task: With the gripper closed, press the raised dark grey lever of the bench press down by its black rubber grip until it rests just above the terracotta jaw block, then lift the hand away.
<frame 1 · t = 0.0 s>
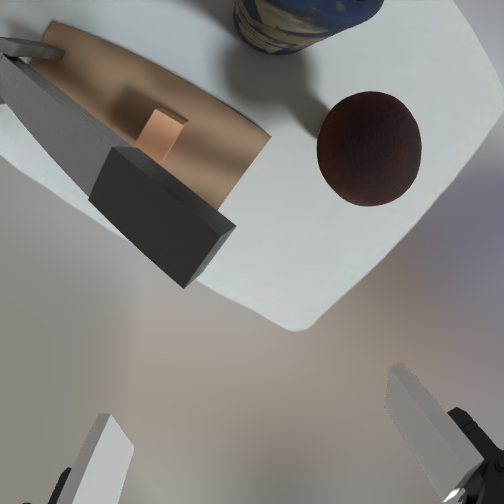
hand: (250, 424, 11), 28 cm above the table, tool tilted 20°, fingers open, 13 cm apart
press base: (126, 107, 27), on the table
canister: (274, 22, 24), on the table
lever: (52, 116, 13), point 16 cm above the table, hinge at 25.0°
decorative mushroom: (330, 132, 32), on the table
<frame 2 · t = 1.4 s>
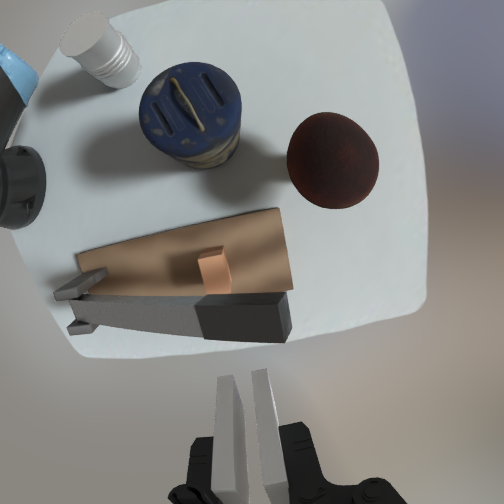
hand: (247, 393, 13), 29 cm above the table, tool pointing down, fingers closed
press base: (179, 268, 41), on the table
white ribbed cylinder: (124, 73, 34), on the table
canister: (206, 138, 38), on the table
lever: (144, 313, 26), point 16 cm above the table, hinge at 25.0°
decorative mushroom: (310, 166, 39), on the table
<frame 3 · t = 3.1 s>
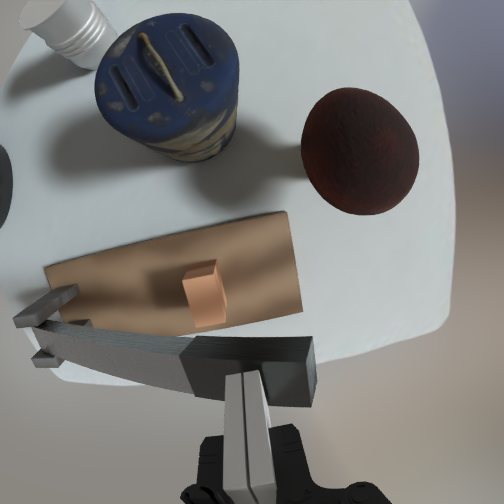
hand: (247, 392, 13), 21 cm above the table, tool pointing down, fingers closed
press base: (163, 286, 33), on the table
white ribbed cylinder: (100, 52, 26), on the table
canister: (195, 124, 29), on the table
lever: (115, 353, 18), point 15 cm above the table, hinge at 22.4°, touching gripper
decorative mushroom: (324, 160, 31), on the table
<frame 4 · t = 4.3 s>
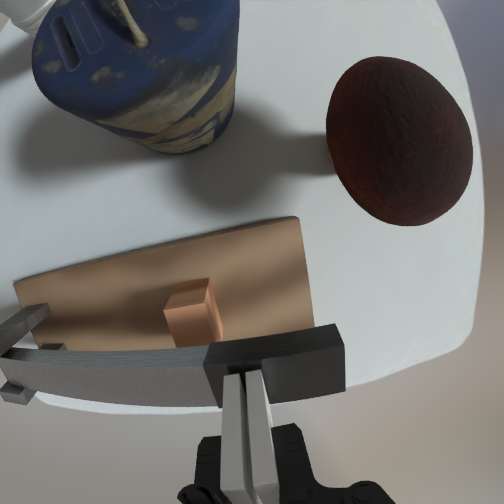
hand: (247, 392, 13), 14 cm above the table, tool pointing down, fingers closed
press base: (146, 308, 27), on the table
white ribbed cylinder: (77, 31, 19), on the table
canister: (183, 108, 23), on the table
lever: (107, 377, 15), point 12 cm above the table, hinge at 7.2°, touching gripper
decorative mushroom: (343, 154, 25), on the table
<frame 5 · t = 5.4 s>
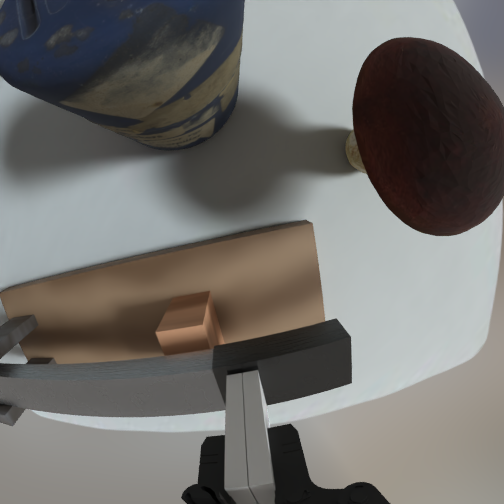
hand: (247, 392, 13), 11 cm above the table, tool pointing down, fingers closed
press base: (139, 322, 24), on the table
canister: (179, 98, 20), on the table
lever: (105, 389, 14), point 10 cm above the table, hinge at -0.6°, touching gripper
decorative mushroom: (360, 150, 22), on the table
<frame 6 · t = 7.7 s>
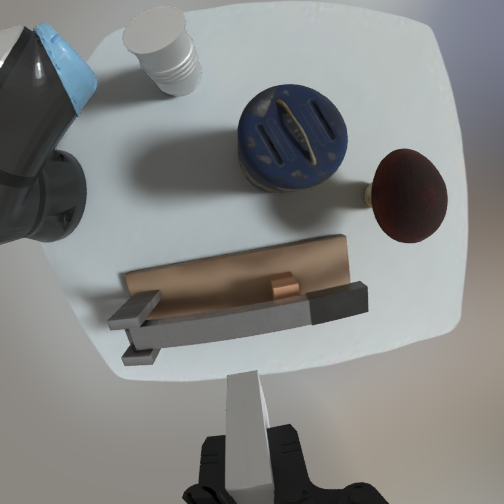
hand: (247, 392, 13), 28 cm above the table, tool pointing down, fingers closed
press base: (240, 293, 41), on the table
white ribbed cylinder: (181, 79, 35), on the table
canister: (273, 159, 38), on the table
lever: (243, 321, 31), point 10 cm above the table, hinge at -0.7°
decorative mushroom: (372, 194, 39), on the table
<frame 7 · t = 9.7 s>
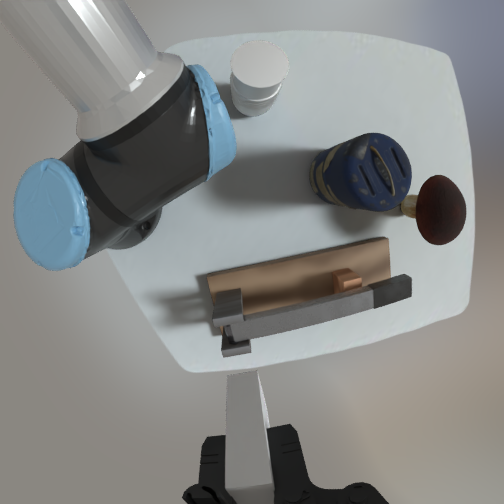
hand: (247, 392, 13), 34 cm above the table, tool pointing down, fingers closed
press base: (305, 287, 49), on the table
white ribbed cylinder: (252, 100, 41), on the table
canister: (333, 176, 45), on the table
lever: (324, 309, 39), point 10 cm above the table, hinge at -0.7°
decorative mushroom: (405, 204, 47), on the table
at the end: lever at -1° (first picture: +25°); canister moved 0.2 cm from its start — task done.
